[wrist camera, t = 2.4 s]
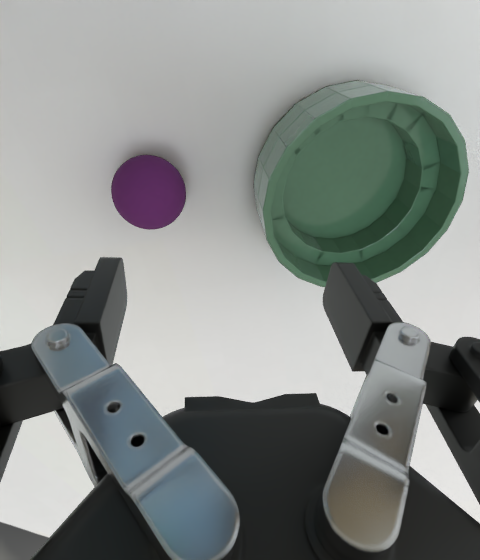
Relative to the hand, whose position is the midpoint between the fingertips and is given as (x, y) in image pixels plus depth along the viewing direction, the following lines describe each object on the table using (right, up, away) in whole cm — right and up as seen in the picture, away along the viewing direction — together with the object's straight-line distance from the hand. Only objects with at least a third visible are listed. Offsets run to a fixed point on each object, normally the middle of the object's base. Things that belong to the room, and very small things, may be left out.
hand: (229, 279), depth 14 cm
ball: (-7, +7, +14) cm, 17 cm away
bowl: (+9, +9, +18) cm, 22 cm away
